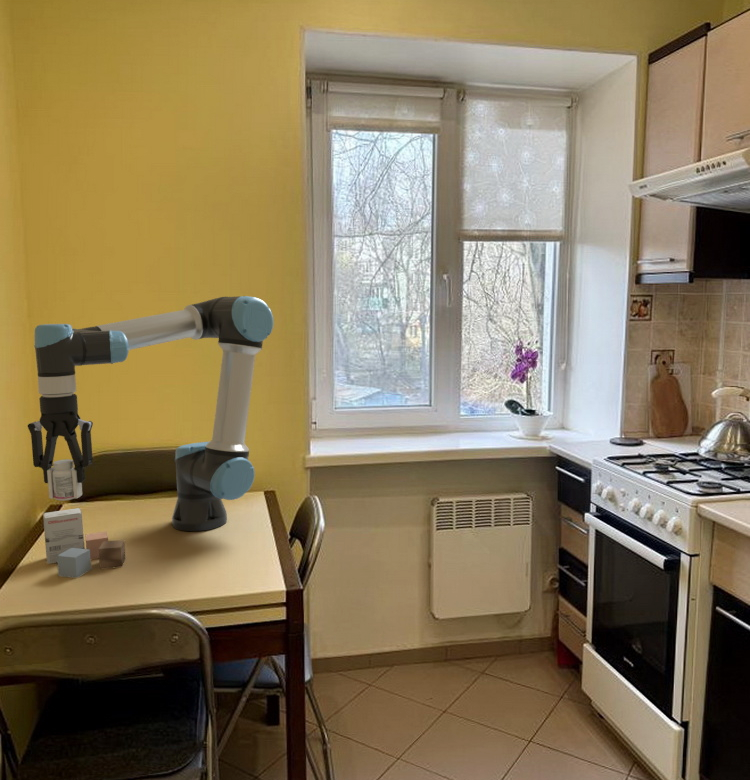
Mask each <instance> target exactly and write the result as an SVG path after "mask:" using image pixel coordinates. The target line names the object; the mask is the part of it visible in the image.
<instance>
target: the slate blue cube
mask: <svg viewBox="0 0 750 780" xmlns="http://www.w3.org/2000/svg"><path fill="white" fill-rule="evenodd" d="M91 560H92V559H91V558H90V550H89V549H86V548H85V549H79V548H70V549H69V550H67V551H65V552H63V553H61V554H59V555H57V561H58V562H57V572H58V574H57V575H58V577H63V578H65V577H66V578H75V579H78V578H80V577H81V576H82V575H85V574H86V573H87V572H90V571H91V570H92V561H91Z"/></svg>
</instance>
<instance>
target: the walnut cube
mask: <svg viewBox="0 0 750 780" xmlns="http://www.w3.org/2000/svg"><path fill="white" fill-rule="evenodd" d="M126 558H127V557H126V545H125V539H119V540H118V539H117V540H116V539H115V540H108V541H103V542H102V544H101V546H100V547H99V558H98V559H99V569H100V570H101V569H111V568H113V567H115V568H123V565H124V564H125V561H126ZM123 563H124V564H123ZM113 569H114V568H113Z"/></svg>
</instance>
